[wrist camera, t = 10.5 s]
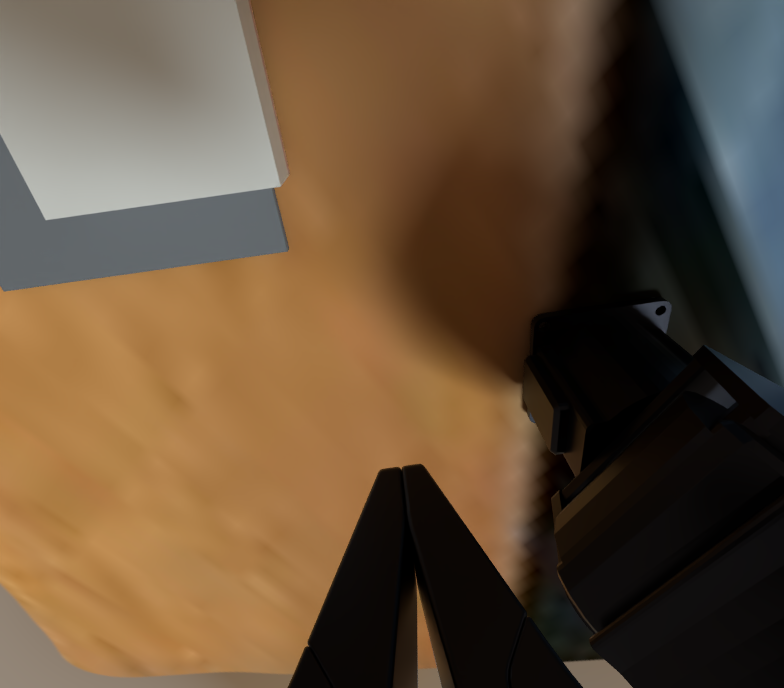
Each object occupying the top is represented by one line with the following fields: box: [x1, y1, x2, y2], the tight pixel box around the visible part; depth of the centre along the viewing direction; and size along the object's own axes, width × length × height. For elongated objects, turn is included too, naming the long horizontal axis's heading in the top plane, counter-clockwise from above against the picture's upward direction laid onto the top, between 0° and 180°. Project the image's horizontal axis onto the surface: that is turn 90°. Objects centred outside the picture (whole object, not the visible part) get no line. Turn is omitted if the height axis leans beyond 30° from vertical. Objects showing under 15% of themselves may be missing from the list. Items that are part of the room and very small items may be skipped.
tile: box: [0, 0, 290, 220], centre depth 14 cm, size 2×8×8 cm
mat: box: [0, 135, 289, 291], centre depth 15 cm, size 12×14×1 cm
